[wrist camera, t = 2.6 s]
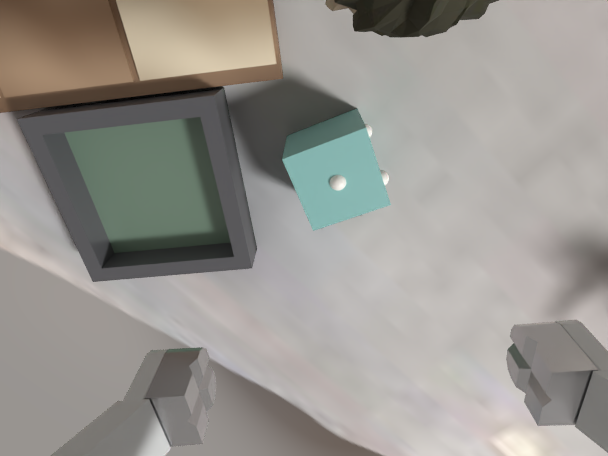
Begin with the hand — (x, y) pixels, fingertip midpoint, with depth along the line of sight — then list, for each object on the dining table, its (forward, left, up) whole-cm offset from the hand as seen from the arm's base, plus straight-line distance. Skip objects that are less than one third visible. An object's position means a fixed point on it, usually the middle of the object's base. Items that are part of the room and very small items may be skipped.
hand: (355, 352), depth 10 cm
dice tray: (0, -11, -16) cm, 20 cm away
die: (0, 0, -16) cm, 16 cm away
